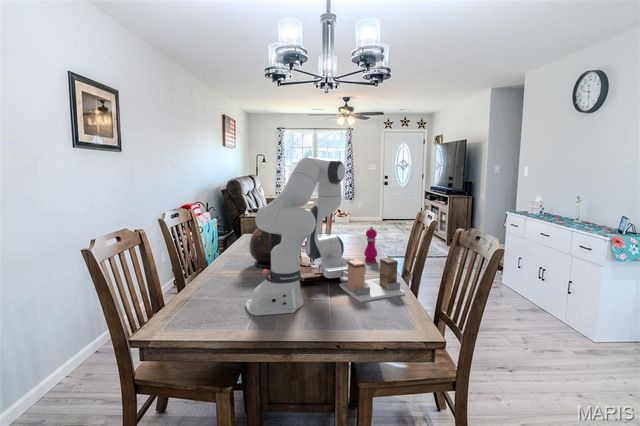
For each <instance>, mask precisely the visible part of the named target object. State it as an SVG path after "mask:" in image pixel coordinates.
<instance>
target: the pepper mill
mask: <svg viewBox="0 0 640 426" xmlns="http://www.w3.org/2000/svg"><path fill="white" fill-rule="evenodd" d="M377 234H378V233H377V231H376V229H374V227H373V226H370V227H369V229H367V230H366V232H365V236H366V241H367V245H366V248H365V250H364V253H363V254H364V256H365V258H364V262H366V263H369V264H372V263H376V262H377V256H378V250H377V248H376V245H375V243H376V240H377V239H376V237H377Z"/></svg>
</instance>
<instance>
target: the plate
mask: <svg viewBox="0 0 640 426" xmlns="http://www.w3.org/2000/svg"><path fill="white" fill-rule="evenodd" d="M379 284H380V277H379V278H373V279H372V278H371V279H366V280H364V287H360V288H356V292H353V291H352V290H350V289H349V288H348V282H342V283H339V287H340V289H342V290H343V291H345V292H346V293H347V294H349V295H350V296H352V297H353V298H354V299H355V300H357V301H358V302H359V303H360V302H366V301H367V302H368V301H373V300H379V299H385V298H391V297H398V296H403V295H406V291H405V290H403V289H401V282H400V281H397V282H394V283H387V287H386V288H384V287H383V286H381V285H379Z"/></svg>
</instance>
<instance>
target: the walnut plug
mask: <svg viewBox="0 0 640 426" xmlns="http://www.w3.org/2000/svg"><path fill="white" fill-rule="evenodd" d="M398 264H399V261H398V260H396V259H394V258H391V257H382V258H380V259H379V278H380V284H379V285H381V286H383V287H384V288H386V287H387V283H394V282H398V281H397V280H398Z"/></svg>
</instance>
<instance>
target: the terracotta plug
mask: <svg viewBox="0 0 640 426" xmlns="http://www.w3.org/2000/svg"><path fill="white" fill-rule="evenodd" d="M365 266H366V264H365V262H363V261H361V260H360V259H356V260H351V261H348V277H347V283H348V288H349V289H350V290H352V291H353V292H356V288H360V287H364V280H365V277H366V276H365V275H366V274H365Z"/></svg>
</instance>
